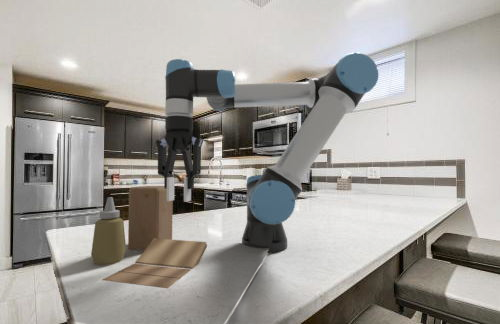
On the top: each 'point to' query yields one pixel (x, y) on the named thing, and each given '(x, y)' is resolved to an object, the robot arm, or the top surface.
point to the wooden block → (148, 216)
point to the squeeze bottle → (108, 236)
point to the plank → (173, 253)
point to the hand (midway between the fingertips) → (178, 200)
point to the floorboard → (148, 275)
